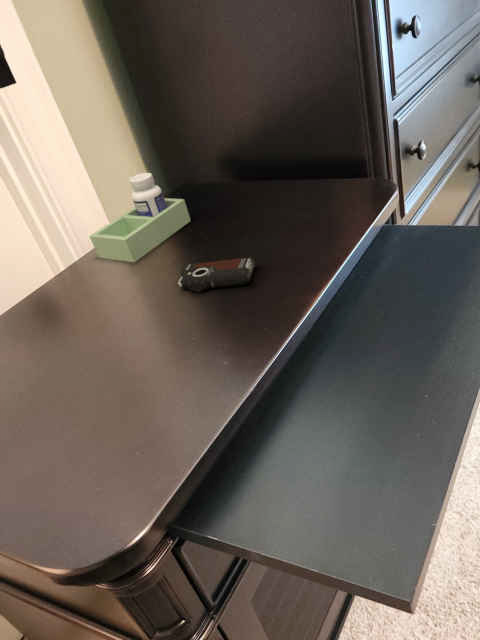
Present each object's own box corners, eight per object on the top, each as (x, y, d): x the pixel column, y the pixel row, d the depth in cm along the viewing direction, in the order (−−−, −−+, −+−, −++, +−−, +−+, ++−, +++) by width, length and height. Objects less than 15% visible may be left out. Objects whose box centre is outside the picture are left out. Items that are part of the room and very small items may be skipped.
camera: (244, 274, 73) (171, 282, 75) (249, 291, 75) (178, 298, 77) (252, 249, 77) (182, 257, 79) (256, 266, 79) (189, 273, 81)
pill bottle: (167, 217, 98) (150, 168, 92) (176, 225, 95) (159, 175, 89) (140, 226, 97) (122, 178, 91) (148, 235, 93) (129, 185, 87)
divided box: (98, 258, 91) (88, 236, 89) (156, 218, 101) (149, 197, 98) (134, 262, 87) (125, 239, 85) (190, 220, 97) (184, 199, 94)
